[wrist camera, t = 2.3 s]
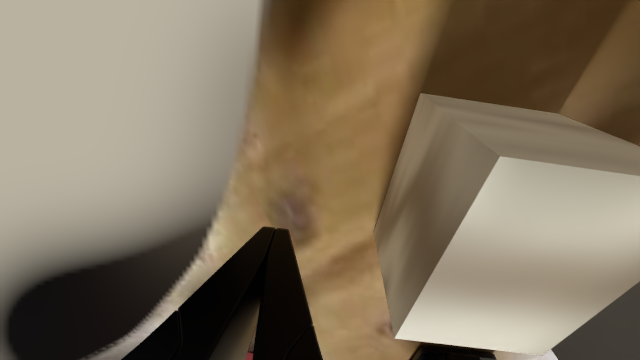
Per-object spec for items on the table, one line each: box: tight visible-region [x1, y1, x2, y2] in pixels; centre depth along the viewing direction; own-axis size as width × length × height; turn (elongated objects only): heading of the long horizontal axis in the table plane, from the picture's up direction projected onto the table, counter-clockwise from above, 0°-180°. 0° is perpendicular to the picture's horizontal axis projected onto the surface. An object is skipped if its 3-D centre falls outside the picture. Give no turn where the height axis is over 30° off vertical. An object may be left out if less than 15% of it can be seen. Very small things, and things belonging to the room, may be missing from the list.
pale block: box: [374, 93, 640, 356], centre depth 10 cm, size 8×6×6 cm
